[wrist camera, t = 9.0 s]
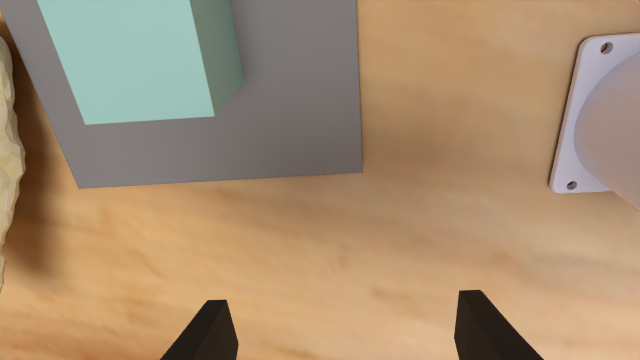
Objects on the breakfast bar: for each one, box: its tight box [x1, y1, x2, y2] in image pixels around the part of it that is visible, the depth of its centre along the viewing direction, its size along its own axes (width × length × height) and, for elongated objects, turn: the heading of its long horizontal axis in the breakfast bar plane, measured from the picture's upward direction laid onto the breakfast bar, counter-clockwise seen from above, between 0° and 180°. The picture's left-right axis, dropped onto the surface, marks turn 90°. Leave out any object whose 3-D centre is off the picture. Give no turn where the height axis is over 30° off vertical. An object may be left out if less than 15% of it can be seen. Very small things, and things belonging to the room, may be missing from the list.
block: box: [37, 0, 244, 125], centre depth 15 cm, size 5×5×5 cm
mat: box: [0, 0, 363, 189], centre depth 18 cm, size 16×16×1 cm
